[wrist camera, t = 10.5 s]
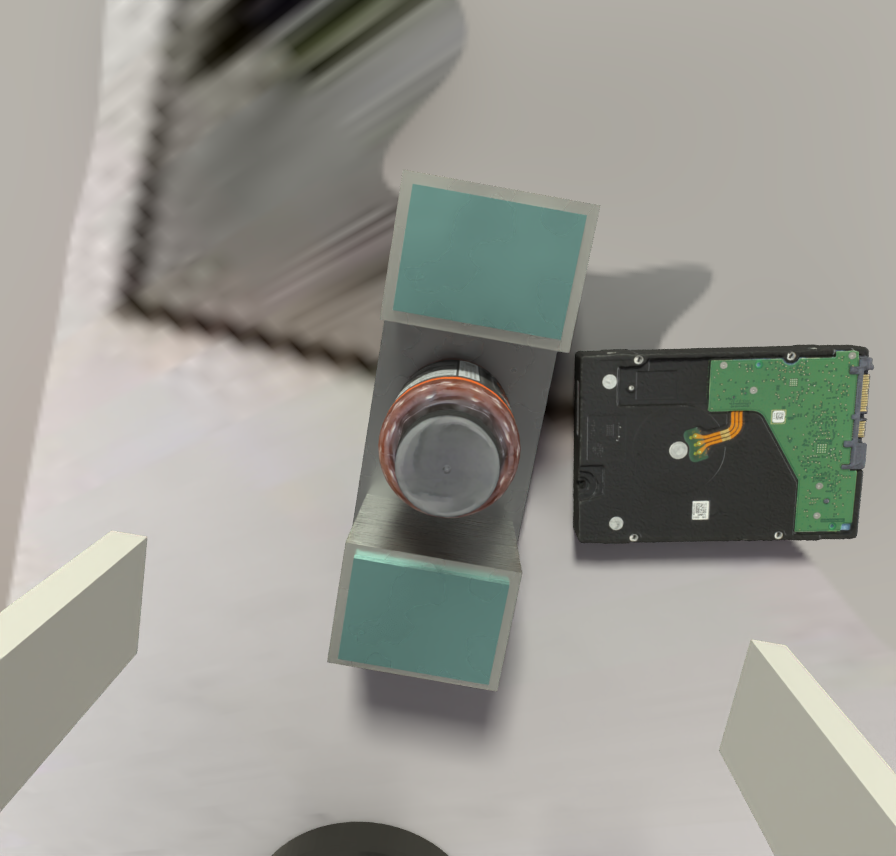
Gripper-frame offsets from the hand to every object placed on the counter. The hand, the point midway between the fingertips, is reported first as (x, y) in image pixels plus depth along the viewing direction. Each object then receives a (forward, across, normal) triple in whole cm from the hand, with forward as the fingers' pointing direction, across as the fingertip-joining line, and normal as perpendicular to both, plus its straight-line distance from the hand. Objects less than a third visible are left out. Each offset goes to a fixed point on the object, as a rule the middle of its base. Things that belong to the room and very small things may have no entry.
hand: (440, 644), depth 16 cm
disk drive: (+25, -14, -1) cm, 29 cm away
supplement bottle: (+23, 0, -1) cm, 23 cm away
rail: (+25, 0, 0) cm, 25 cm away
